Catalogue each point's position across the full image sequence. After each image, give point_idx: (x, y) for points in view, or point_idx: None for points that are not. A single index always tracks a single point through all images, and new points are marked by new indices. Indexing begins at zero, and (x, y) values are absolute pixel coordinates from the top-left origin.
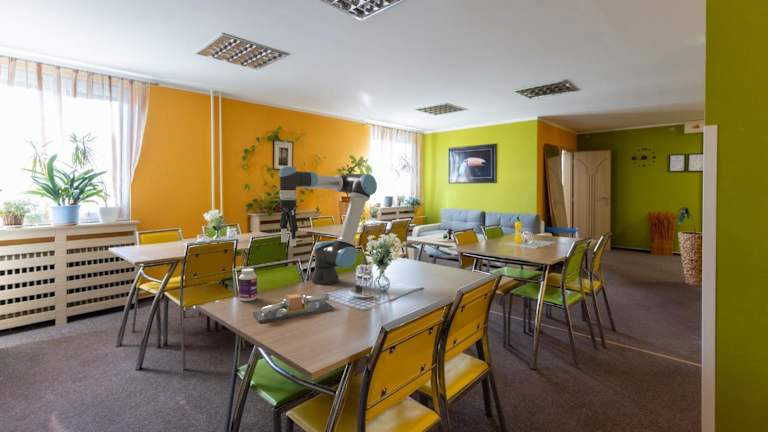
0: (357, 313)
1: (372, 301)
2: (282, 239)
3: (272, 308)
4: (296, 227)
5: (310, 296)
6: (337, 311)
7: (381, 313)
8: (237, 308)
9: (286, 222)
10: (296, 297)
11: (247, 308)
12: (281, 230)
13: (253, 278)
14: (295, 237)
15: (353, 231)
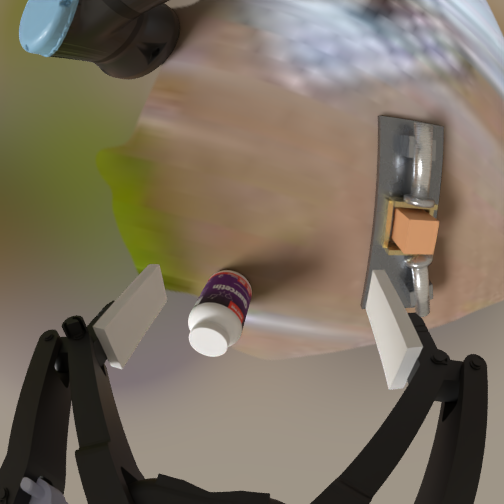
0: (479, 98)
1: (416, 9)
2: (157, 308)
3: (429, 293)
4: (481, 388)
5: (425, 183)
6: (452, 125)
7: (493, 61)
8: (293, 321)
9: (105, 404)
10: (436, 236)
11: (306, 305)
12: (122, 358)
13: (237, 318)
14: (423, 322)
15: None
